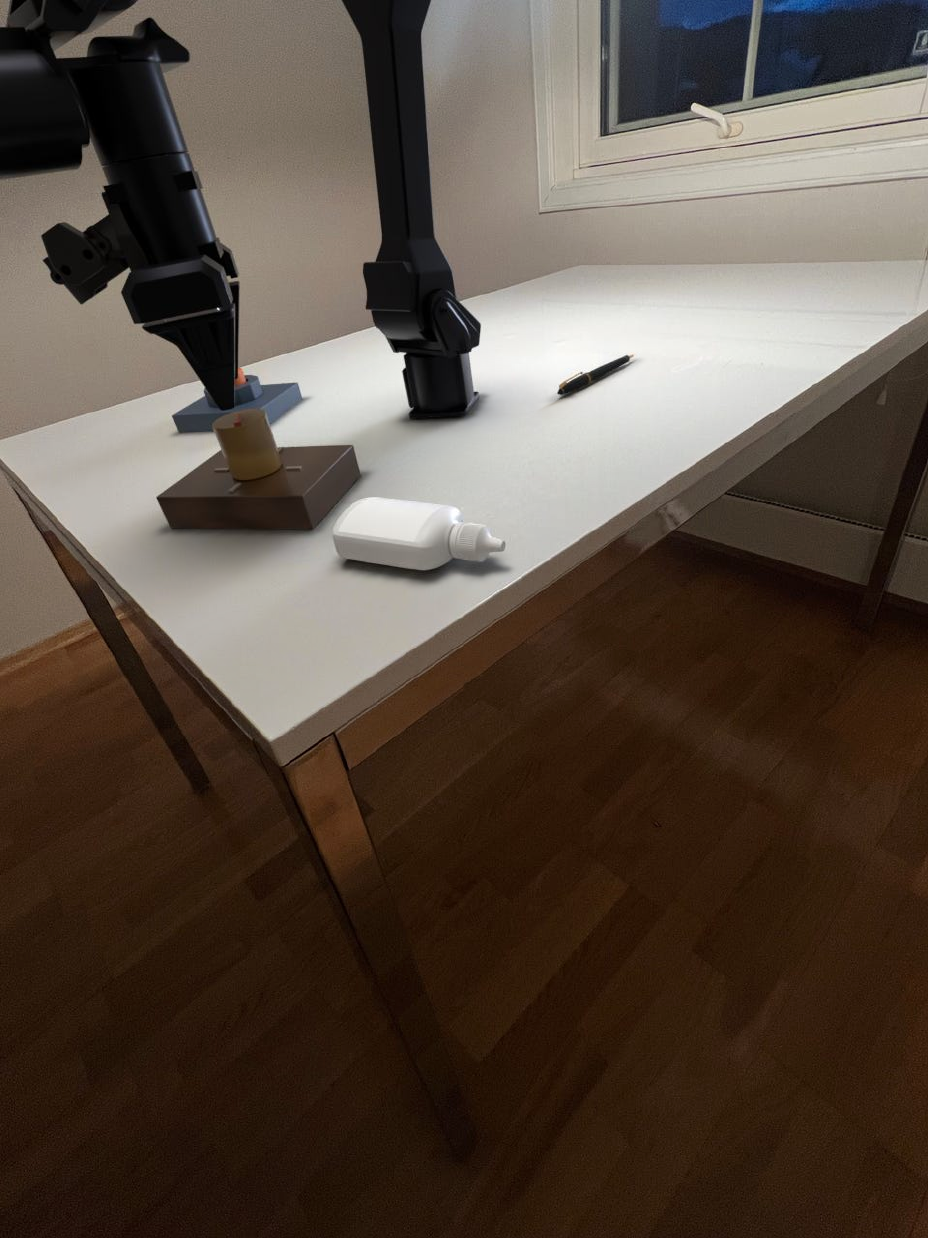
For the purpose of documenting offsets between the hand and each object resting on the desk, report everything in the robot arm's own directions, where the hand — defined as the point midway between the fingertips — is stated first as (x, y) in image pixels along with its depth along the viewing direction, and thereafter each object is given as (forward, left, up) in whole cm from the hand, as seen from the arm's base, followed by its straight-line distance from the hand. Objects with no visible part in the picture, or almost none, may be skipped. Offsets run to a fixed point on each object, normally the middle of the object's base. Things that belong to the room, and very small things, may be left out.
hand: (230, 393), depth 52 cm
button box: (+16, -22, -9) cm, 29 cm away
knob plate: (-1, +1, -9) cm, 9 cm away
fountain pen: (-27, -28, -10) cm, 40 cm away
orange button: (+16, -22, -6) cm, 28 cm away
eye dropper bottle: (-13, +8, -8) cm, 17 cm away
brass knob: (-1, +1, -6) cm, 6 cm away
